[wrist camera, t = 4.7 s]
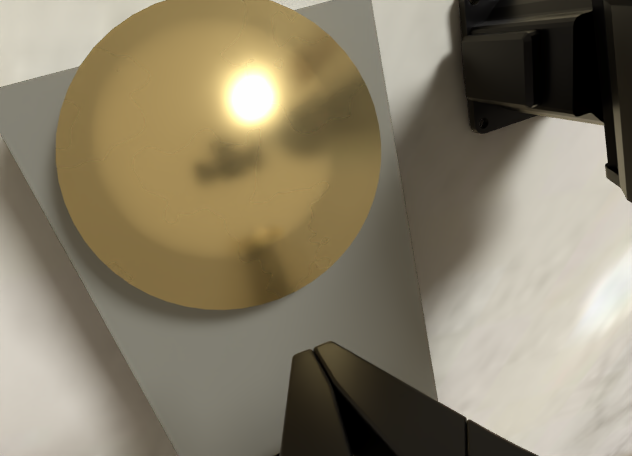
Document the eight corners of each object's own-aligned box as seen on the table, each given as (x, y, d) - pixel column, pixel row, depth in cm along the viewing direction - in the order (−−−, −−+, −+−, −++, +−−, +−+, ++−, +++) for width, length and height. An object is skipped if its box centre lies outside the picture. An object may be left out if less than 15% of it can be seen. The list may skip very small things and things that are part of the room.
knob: (304, -20, 17) (348, -45, 13) (355, 213, 21) (401, 251, 17) (32, 47, 15) (-21, 44, 11) (147, 287, 19) (141, 351, 15)
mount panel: (330, 3, 18) (369, -10, 14) (413, 416, 28) (449, 469, 24) (21, 84, 16) (-23, 92, 12) (231, 500, 26) (241, 571, 22)
